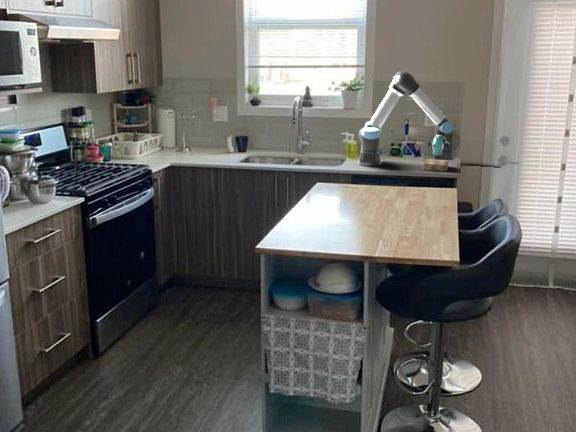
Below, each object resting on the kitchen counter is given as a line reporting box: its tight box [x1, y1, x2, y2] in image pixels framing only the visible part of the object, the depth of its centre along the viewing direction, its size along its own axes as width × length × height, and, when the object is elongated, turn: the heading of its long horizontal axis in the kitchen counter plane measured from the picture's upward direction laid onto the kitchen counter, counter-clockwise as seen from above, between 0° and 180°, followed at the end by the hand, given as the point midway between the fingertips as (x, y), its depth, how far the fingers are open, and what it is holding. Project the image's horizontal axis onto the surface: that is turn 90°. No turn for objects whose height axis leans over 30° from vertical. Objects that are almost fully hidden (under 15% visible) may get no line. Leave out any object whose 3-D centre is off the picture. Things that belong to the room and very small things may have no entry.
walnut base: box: [423, 158, 449, 172], centre depth 405 cm, size 14×18×4 cm
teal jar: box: [432, 136, 443, 156], centre depth 402 cm, size 6×6×11 cm
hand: (437, 146), depth 397 cm, fingers closed on teal jar, 5 cm apart
